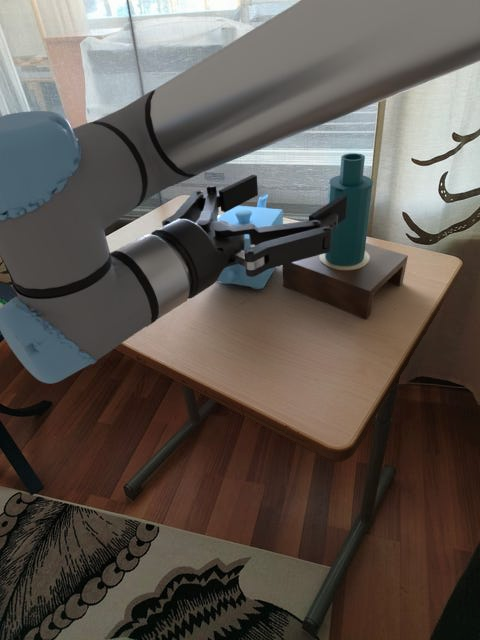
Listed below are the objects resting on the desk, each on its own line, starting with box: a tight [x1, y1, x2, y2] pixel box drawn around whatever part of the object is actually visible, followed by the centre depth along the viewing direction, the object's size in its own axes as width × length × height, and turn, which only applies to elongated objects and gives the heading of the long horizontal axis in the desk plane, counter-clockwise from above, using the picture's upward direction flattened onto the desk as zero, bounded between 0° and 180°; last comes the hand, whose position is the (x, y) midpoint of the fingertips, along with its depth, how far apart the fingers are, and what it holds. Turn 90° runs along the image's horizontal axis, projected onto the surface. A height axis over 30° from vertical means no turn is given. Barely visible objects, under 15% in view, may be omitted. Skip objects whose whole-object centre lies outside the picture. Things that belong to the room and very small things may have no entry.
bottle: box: [325, 152, 374, 266], centre depth 72 cm, size 7×7×18 cm
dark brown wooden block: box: [281, 242, 409, 320], centre depth 80 cm, size 18×14×6 cm
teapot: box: [216, 193, 284, 290], centre depth 84 cm, size 22×11×14 cm, turn 158°
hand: (296, 195), depth 53 cm, fingers open, 13 cm apart
